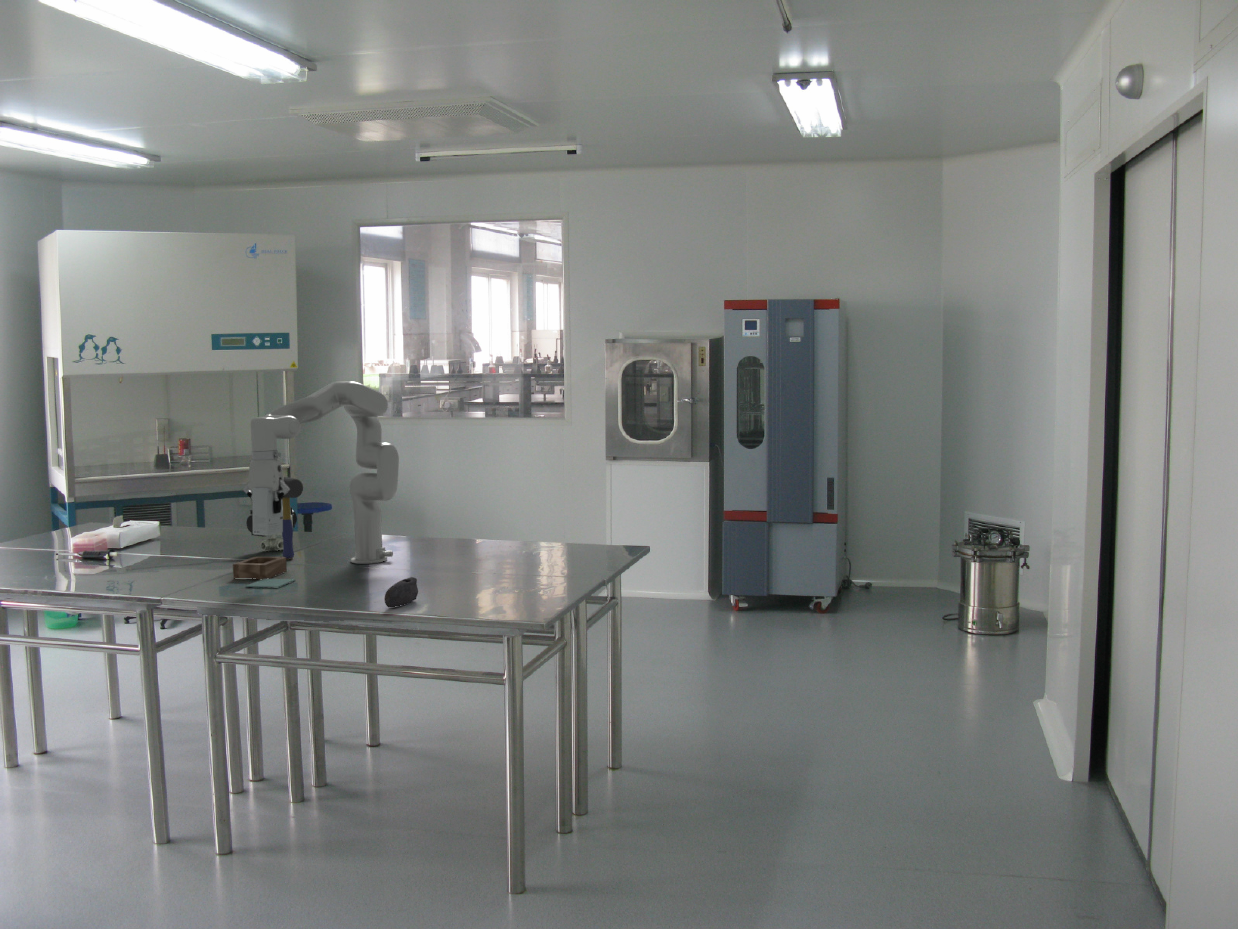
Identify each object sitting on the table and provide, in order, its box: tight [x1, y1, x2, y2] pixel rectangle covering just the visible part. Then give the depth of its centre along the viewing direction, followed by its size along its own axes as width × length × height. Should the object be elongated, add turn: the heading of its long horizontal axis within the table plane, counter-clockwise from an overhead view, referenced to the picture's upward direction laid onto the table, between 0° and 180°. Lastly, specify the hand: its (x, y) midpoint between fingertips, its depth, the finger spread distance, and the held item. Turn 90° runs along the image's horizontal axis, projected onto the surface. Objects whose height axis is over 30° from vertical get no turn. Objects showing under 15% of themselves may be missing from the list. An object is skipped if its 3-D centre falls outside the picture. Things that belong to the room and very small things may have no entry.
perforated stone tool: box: [384, 576, 419, 608], centre depth 285 cm, size 15×5×7 cm, turn 157°
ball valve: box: [246, 506, 298, 552], centre depth 378 cm, size 18×8×18 cm, turn 147°
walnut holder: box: [232, 556, 288, 579], centre depth 331 cm, size 12×14×5 cm
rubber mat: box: [245, 578, 296, 588], centre depth 317 cm, size 11×11×1 cm
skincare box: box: [251, 488, 283, 537], centre depth 315 cm, size 8×6×15 cm
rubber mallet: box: [281, 476, 304, 561], centre depth 358 cm, size 12×8×30 cm, turn 55°
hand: (267, 512), depth 314 cm, fingers closed on skincare box, 6 cm apart
